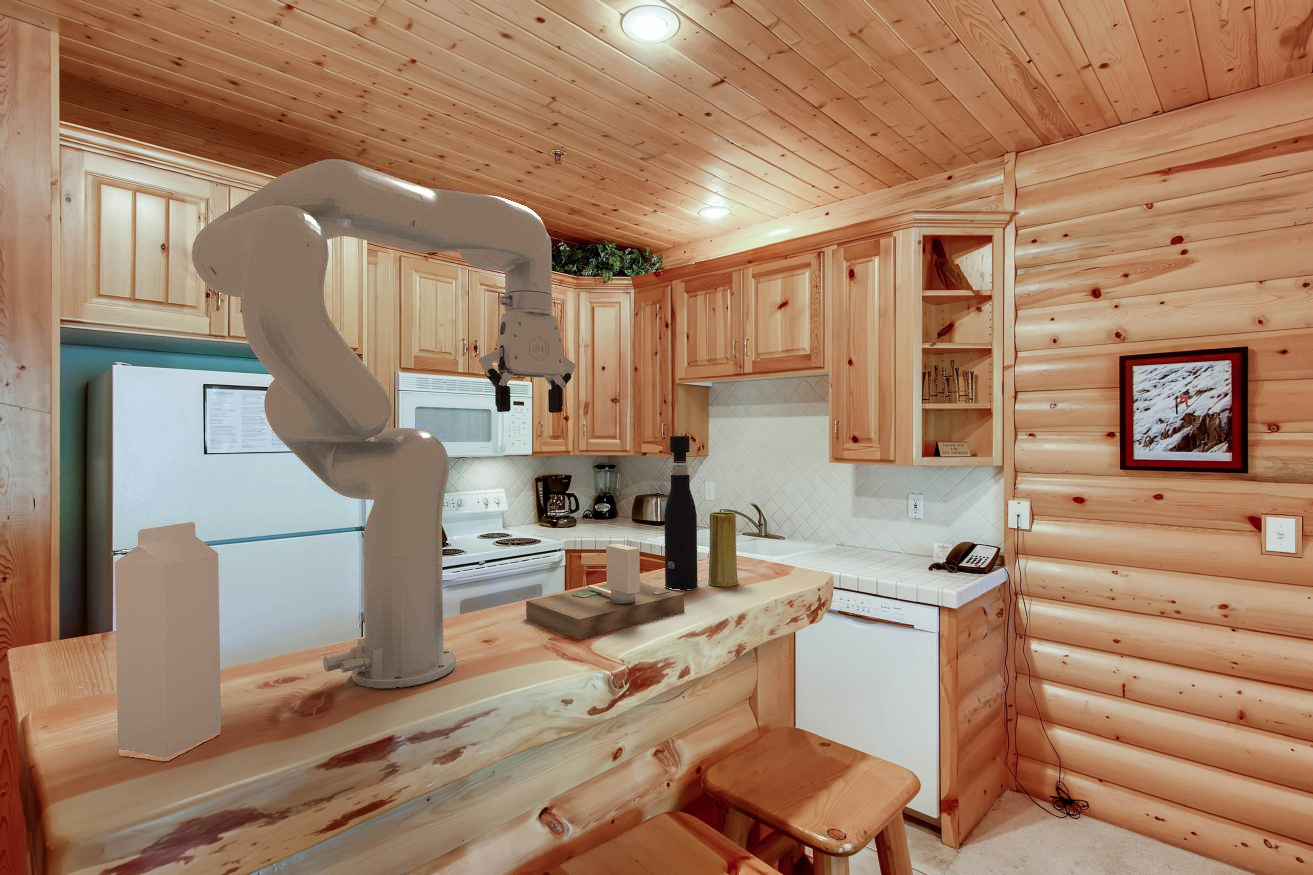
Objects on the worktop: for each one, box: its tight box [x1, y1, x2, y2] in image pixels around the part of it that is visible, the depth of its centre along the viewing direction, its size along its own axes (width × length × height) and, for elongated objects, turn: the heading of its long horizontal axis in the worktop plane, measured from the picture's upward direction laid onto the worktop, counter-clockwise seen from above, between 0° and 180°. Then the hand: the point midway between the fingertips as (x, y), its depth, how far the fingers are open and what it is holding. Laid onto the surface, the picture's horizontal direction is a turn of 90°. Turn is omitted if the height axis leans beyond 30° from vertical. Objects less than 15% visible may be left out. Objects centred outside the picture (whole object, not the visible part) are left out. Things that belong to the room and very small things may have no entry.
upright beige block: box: [587, 543, 641, 604], centre depth 110 cm, size 13×4×9 cm, turn 38°
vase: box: [707, 511, 739, 588], centre depth 132 cm, size 6×6×14 cm
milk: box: [114, 521, 222, 758], centre depth 65 cm, size 6×6×22 cm
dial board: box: [525, 582, 685, 640], centre depth 111 cm, size 22×15×3 cm
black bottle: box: [663, 435, 698, 591], centre depth 130 cm, size 6×6×30 cm
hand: (530, 412), depth 107 cm, fingers open, 9 cm apart
